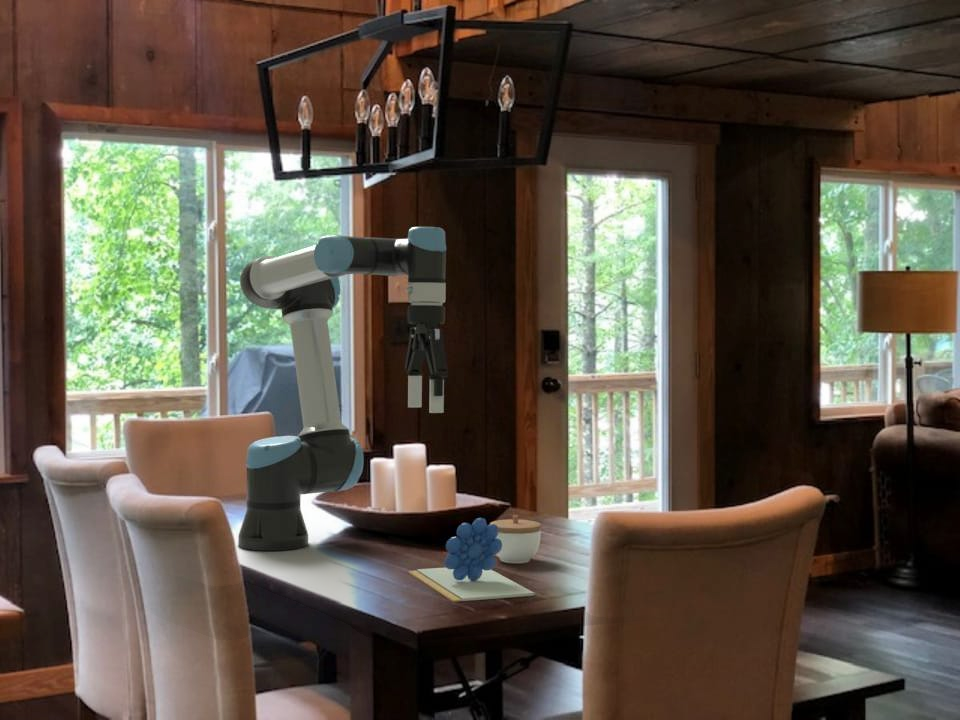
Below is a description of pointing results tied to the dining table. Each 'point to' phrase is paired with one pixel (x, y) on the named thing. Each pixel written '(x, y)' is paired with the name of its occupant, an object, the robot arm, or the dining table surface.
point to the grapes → (473, 549)
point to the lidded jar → (518, 539)
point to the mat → (476, 585)
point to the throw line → (435, 586)
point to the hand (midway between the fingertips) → (425, 410)
